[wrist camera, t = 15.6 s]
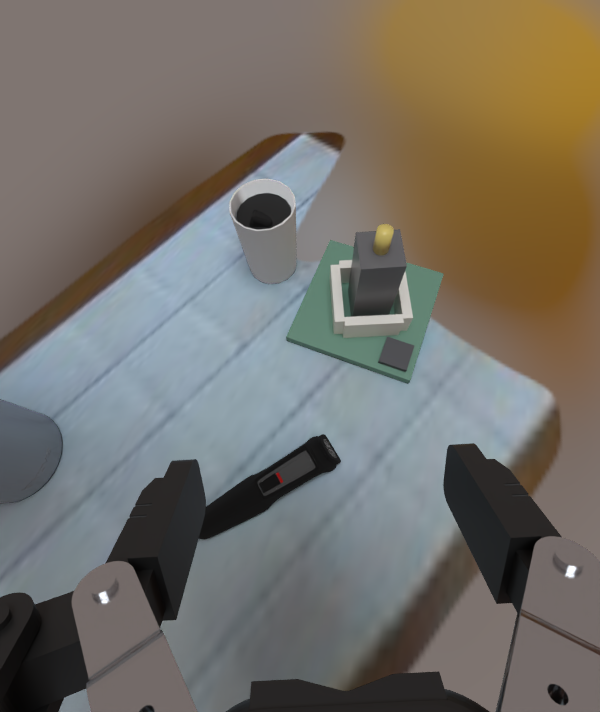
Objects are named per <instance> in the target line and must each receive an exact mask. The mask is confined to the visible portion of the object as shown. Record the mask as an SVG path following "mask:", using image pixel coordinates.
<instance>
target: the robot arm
mask: <svg viewBox="0 0 600 712" xmlns="http://www.w3.org/2000/svg"><path fill="white" fill-rule="evenodd" d="M61 450H62V440H61V434H60V432H59V429H58V427H57V426H56V424H55V423H54V421H52V420H51V419H50V418H49V417H47V416H45V415H43V414H41V413H38V412H35V411H32V410H29V409H26V408H24V407H21V406H18V405H15V404H13V403H10V402H7V401H4V400H1V399H0V503H12V502H16V501H20V500H22V499H25V498H27V497H29V496H31V495H32V494H34V493H35V492H36V491H38V490H39V489H40V488H41V487H42V486H43V485H44V484H45V483H46V482H47V481H48V480H49V479H50V477H51V476H52V474H53V473H54V471H55V469H56V467H57V465H58V463H59V459H60V456H61ZM444 494H445V498H446V501H447V504H448V506H449V508H450V510H451V512H452V514H453V516H454V518H455V520H456V522H457V524H458V526H459V528H460V530H461V532H462V534H463V536H464V538H465V540H466V542H467V545H468V547H469V549H470V551H471V553H472V555H473V557H474V559H475V561H476V563H477V565H478V567H479V569H480V571H481V573H482V575H483V577H484V579H485V581H486V583H487V585H488V587H489V589H490V591H491V593H492V595H493V597H494V600H495V601H496V603H497V604H501V603H513V605H514V607H515V609H516V611H517V617H516V621H515V626H514V631H513V635H512V640H511V644H510V649H509V654H508V659H507V663H506V668H505V673H504V677H503V682H502V686H501V691H500V695H499V700H498V703H497V708H496V712H600V561H599V560H598V559H597V557H596V556H594V554H593V553H591V552H590V551H589V550H588V549H586V548H585V547H583V546H581V545H580V544H578V543H576V542H574V541H571V540H569V539H566V538H562V537H561V536H560V534H559V533H558V532H557V530H556V529H555V528H554V526H553V525H552V524H551V522H550V521H549V520H548V519H547V517H546V516H545V515H544V513H543V512H542V511H541V510H540V508H539V507H538V506H537V504H536V503H535V502H534V501H533V499H532V498H531V497H530V496H528V493H527V491H526V490H525V489H524V488H523V486H522V485H520V482H519V481H518V480H517V479H516V477H515V476H514V475H513V473H512V472H511V471H510V470H509V469H508V468H506V467H505V466H504V465H502V464H501V463H499V462H498V461H497V460H495V459H486V458H485V456H484V455H483V454H482V452H481V451H480V449H479V448H478V447H477V446H476V445H475V444H457V445H449V446H448V449H447V456H446V465H445V474H444ZM135 505H136V506H135V507H134V508H133V510H132V512H131V514H130V518H129V519H128V520H127V522H126V524H125V526H124V528H123V530H122V532H121V534H120V536H119V538H118V540H117V542H116V544H115V546H114V548H113V550H112V552H111V554H110V556H109V558H108V560H107V561H106V563H105V564H103V565H101V566H99V567H97V568H95V569H94V570H92V571H91V572H90V573H88V574H87V575H86V576H85V577H84V578H83V579H82V580H81V581H80V583H79V584H78V585H77V587H76V589H75V591H72V592H70V593H67V594H65V595H62V596H59V597H56V598H53V599H50V600H47V601H44V602H41V603H38V604H34V602H33V600H32V598H31V597H30V596H29V595H27V594H25V593H12V594H8V595H5V596H2V597H0V712H58V711H59V709H60V706H61V704H62V701H63V699H64V697H66V696H69V695H71V694H74V693H76V692H78V691H81V690H83V689H86V688H87V694H88V699H89V704H90V708H91V712H197V709H196V707H195V705H194V702H193V700H192V698H191V695H190V693H189V691H188V688H187V686H186V684H185V682H184V679H183V677H182V675H181V672H180V670H179V668H178V665H177V663H176V661H175V658H174V656H173V654H172V652H171V649H170V647H169V645H168V642H167V640H166V638H165V636H164V634H163V632H162V630H160V626H161V623H162V621H165V620H176V618H177V615H178V611H179V607H180V604H181V600H182V597H183V593H184V589H185V586H186V582H187V578H188V575H189V571H190V567H191V564H192V560H193V557H194V553H195V549H196V546H197V542H198V538H199V535H200V531H201V527H202V524H203V520H204V516H205V510H206V499H205V493H204V488H203V483H202V478H201V473H200V468H199V464H198V461H197V460H196V459H194V460H177V461H172V462H171V463H170V465H169V467H168V470H167V472H166V474H165V476H164V478H155V479H154V480H153V481H152V482H151V483H150V484H149V485H148V486H147V487H146V488H145V489H143V490H142V492H141V494H140V496H139V498H138V500H137V502H136V504H135ZM226 712H489V711H488V710H486V709H485V708H483V707H482V706H480V705H479V704H478V703H476V702H474V701H472V700H471V699H469V698H467V697H465V696H463V695H460V694H458V693H456V692H453V691H450V690H447V689H444V686H443V683H442V680H441V676H440V673H439V672H425V673H424V672H423V673H404V674H392V675H389V676H387V677H384V678H381V679H379V680H376V681H374V682H371V683H369V684H366V685H363V686H361V687H358V688H356V689H353V690H350V691H341V690H337V689H333V688H329V687H326V686H322V685H318V684H314V683H310V682H306V681H303V680H299V679H291V680H272V681H253V682H251V694H250V699H248V700H245V701H243V702H241V703H239V704H237V705H235V706H234V707H232V708H230V709H229V710H228V711H226Z"/></svg>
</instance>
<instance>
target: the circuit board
mask: <svg viewBox="0 0 600 712" xmlns="http://www.w3.org/2000/svg"><path fill="white" fill-rule="evenodd" d="M353 250H354V247H352V246H349V245H346V244H342V243H339V242H335V241H332V240H330V242H329V244H328V246H327V249H326V251H325V253H324V255H323V257H322V260H321V262H320V264H319V266H318V268H317V271H316V273H315V275H314V277H313V279H312V282H311V284H310V286H309V288H308V290H307V293H306V295H305V297H304V299H303V301H302V304H301V306H300V308H299V310H298V312H297V315H296V317H295V319H294V321H293V324H292V326H291V328H290V330H289V332H288V335H287V337H286V338H287V341H289V342H292V343H295V344H298V345H301V346H303V347H306V348H309V349H312V350H315V351H317V352H320V353H323V354H326V355H329V356H332V357H334V358H337V359H340V360H343V361H346V362H349V363H351V364H354V365H357V366H360V367H363V368H366V369H368V370H371V371H374V372H377V373H380V374H382V375H385V376H388V377H391V378H394V379H397V380H399V381H402V382H405V383H409V381H410V379H411V376H412V373H413V370H414V367H415V363H416V360H417V357H418V354H419V351H420V347H421V344H422V341H423V338H424V335H425V332H426V328H427V325H428V322H429V319H430V316H431V312H432V309H433V306H434V303H435V300H436V296H437V293H438V290H439V287H440V284H441V280H442V277H443V273H440V272H436V271H433V270H430V269H426V268H423V267H419V266H416V265H413V264H410V263H406V264H407V267H406V270H405V271H406V278H407V284H408V290H409V296H410V302H411V308H412V314H413V319H412V321H411V323H410V325H409V327H408V329H407V331H400V332H399V335H392V336H372V337H352V338H343V334H334V331H333V317H332V304H331V291H330V265H338V264H339V261H342V260H352V258H353ZM341 286H342V297H343V308H344V317H351V313H350V304H349V296H348V287H349V283H341ZM389 315H395V310H394V303H393V305H392V308H391V311H390V314H389Z"/></svg>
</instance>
